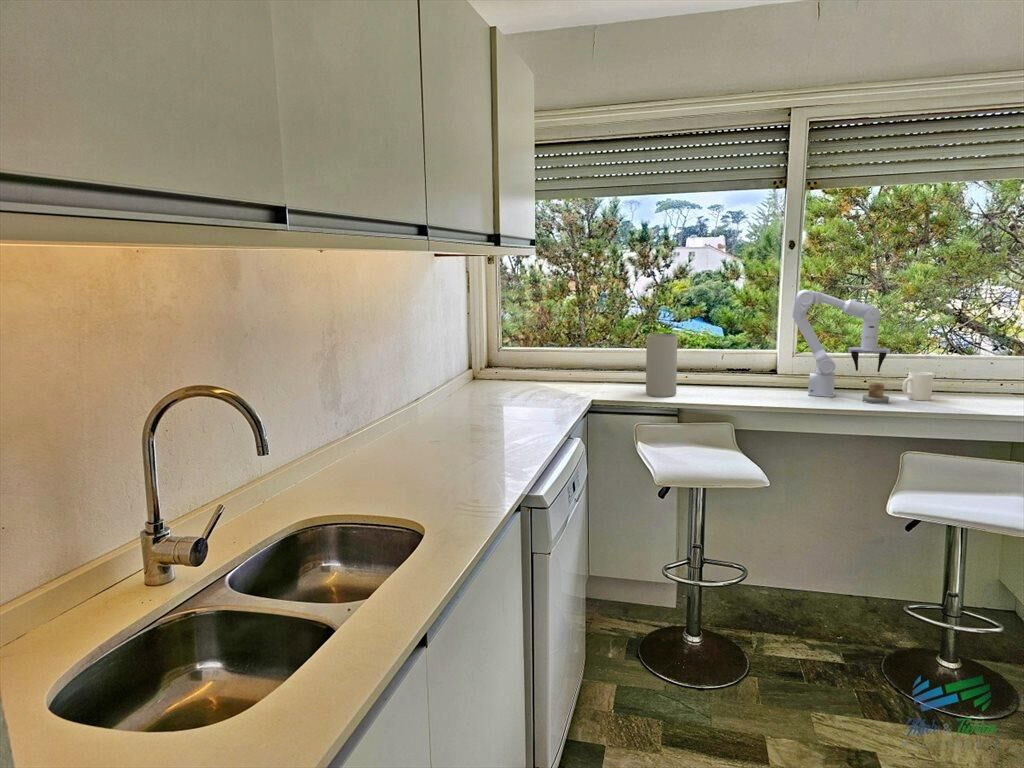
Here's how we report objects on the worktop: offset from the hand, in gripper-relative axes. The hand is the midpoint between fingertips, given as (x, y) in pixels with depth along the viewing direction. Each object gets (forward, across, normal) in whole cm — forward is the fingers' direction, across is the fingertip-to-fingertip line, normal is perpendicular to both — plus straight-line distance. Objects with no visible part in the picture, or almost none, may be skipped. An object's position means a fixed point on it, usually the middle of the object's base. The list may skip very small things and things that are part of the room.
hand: (867, 371), depth 270 cm
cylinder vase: (+10, -75, -29) cm, 81 cm away
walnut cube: (+8, +4, -9) cm, 13 cm away
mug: (+11, +17, +2) cm, 20 cm away
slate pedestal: (+10, +4, -9) cm, 14 cm away
